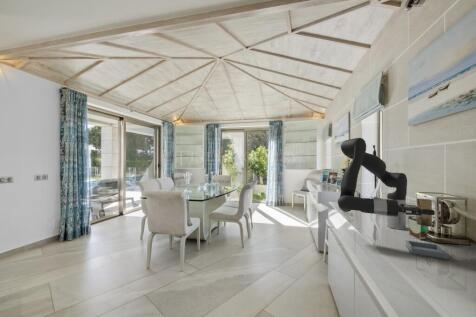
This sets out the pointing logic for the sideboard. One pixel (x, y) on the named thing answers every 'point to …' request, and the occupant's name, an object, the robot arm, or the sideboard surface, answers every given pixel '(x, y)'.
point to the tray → (426, 250)
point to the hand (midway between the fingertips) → (431, 211)
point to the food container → (417, 229)
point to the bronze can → (423, 219)
